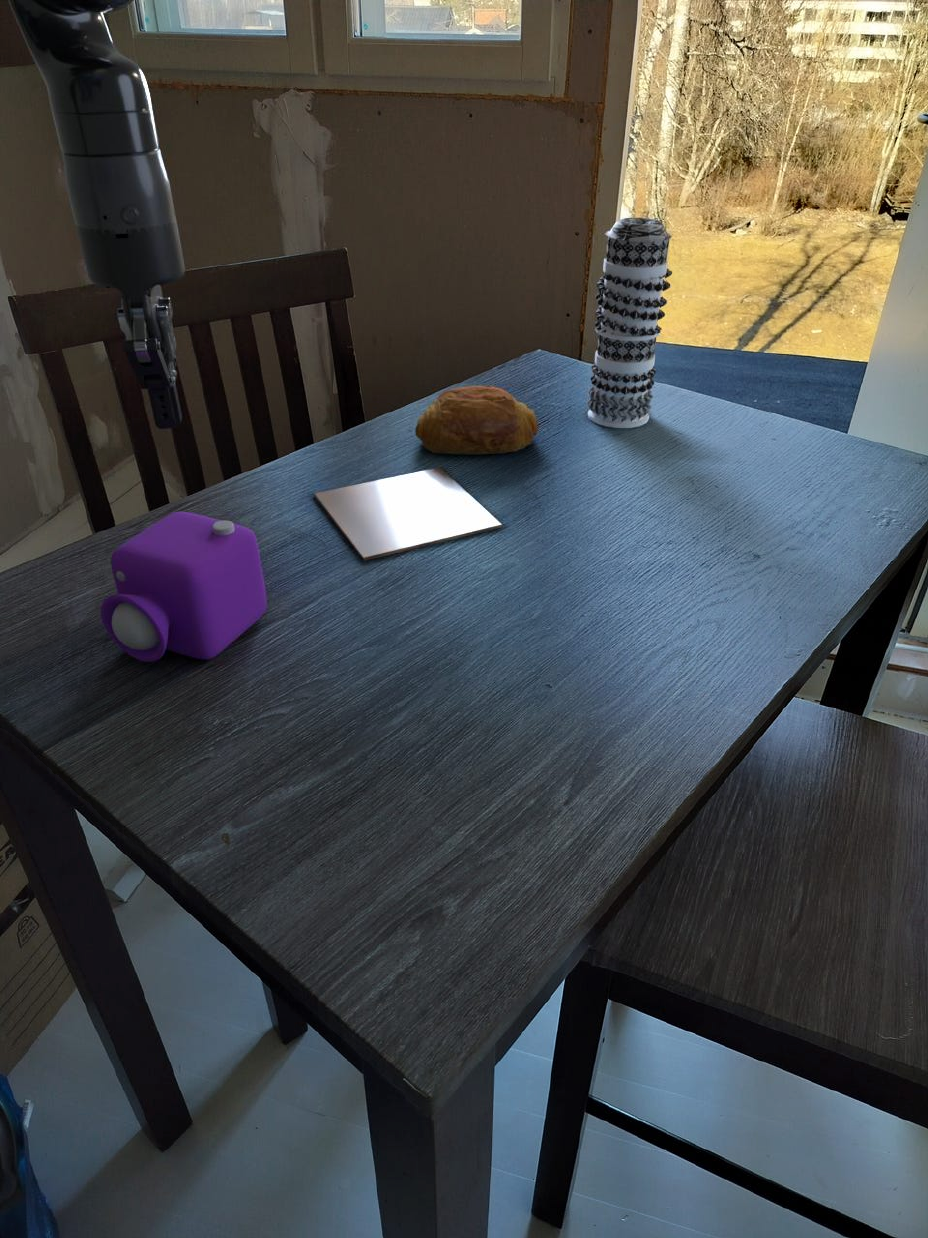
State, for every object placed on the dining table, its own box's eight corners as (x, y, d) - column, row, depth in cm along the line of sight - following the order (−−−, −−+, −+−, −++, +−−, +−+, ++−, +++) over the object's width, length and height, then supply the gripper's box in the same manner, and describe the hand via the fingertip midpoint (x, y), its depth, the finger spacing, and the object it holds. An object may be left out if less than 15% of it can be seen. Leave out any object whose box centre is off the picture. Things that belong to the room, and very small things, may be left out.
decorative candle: (662, 426, 115) (691, 226, 101) (598, 431, 114) (618, 229, 99) (637, 402, 123) (661, 212, 108) (576, 406, 121) (592, 215, 107)
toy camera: (93, 675, 71) (60, 575, 66) (175, 589, 82) (154, 496, 76) (210, 696, 69) (188, 593, 63) (279, 604, 80) (265, 509, 74)
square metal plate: (363, 561, 86) (363, 557, 86) (314, 496, 98) (314, 493, 98) (502, 527, 92) (502, 524, 92) (439, 470, 104) (439, 466, 104)
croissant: (534, 478, 107) (547, 418, 102) (411, 461, 106) (418, 400, 101) (528, 429, 119) (539, 374, 114) (417, 414, 117) (423, 357, 112)
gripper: (88, 202, 71) (134, 401, 81) (59, 235, 61) (116, 459, 71) (180, 199, 72) (215, 396, 82) (167, 231, 62) (209, 452, 72)
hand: (169, 425), depth 77 cm, fingers closed
